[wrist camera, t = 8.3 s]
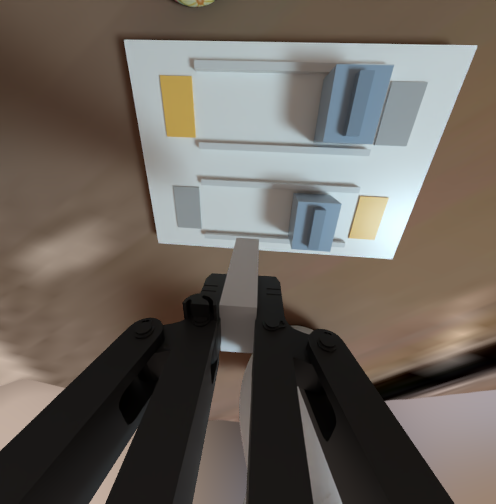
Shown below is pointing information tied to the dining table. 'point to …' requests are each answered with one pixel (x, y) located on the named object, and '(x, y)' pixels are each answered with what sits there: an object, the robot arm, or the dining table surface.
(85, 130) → the dining table surface
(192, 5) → the mug
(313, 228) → the tab
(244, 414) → the pitcher
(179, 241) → the switch board
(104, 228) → the dining table surface
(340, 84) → the tab
